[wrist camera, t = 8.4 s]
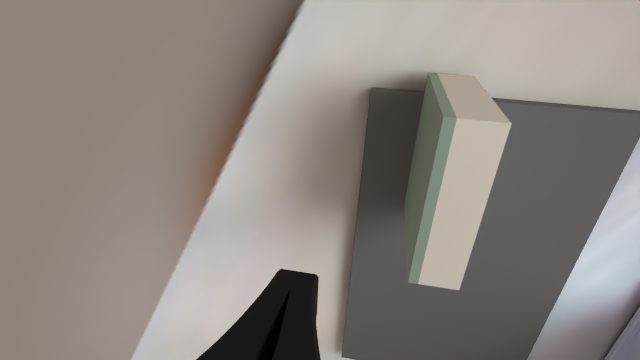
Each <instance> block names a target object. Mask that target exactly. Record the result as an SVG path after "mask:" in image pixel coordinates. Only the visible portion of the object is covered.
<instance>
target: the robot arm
mask: <svg viewBox="0 0 640 360" xmlns="http://www.w3.org/2000/svg"><path fill="white" fill-rule="evenodd" d="M318 278H319V277H318V276H317V275H316V274H310V273H303V272H297V271H291V270H284V269H280V270H279V271H278V272H277V273H276V275H275V276H274V278H273V279H272V280H271V282H270V283H269V284H268V286H267V287H266V288H265V289H264V291H263V292H262V293H261V294H260V296H259V297H258V298H257V299H256V300H255V301H254V303H253V304H252V305H251V306H250V307H249V308H248V310H247V311H246V312H245V313H244V314H243V315H242V316H241V317H240V318H239V319H238V320H237V322H236V323H235V324H234V325H233V326H232V327H231V328H230V329H229V330H228V331H227V332H226V333H225V334H224V335H223V336H222V337H221V338H220V339H219V340H218V341H217V342H215V343H214V344H213V345H212V346H211V347H210V348H209V349H208V350H207V351H206V352H204V353H203V354H202V355H201V356H200V357H199V358H198V359H196V360H320V354H319V347H318V339H317V330H316V315H317V298H318ZM604 360H640V307H639V308H638V310H637V311H636V313H635V314H634V316H633V317H632V319H631V320H630V322H629V323H628V325H627V326H626V328H625V329H624V331H623V332H622V334H621V335H620V337H619V338H618V340H617V341H616V342H615V344H614V345H613V347H612V348H611V350H610V351H609V353H608V354H607V356H606V357H605V359H604Z"/></svg>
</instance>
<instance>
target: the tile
mask: <svg viewBox="0 0 640 360" xmlns="http://www.w3.org/2000/svg"><path fill="white" fill-rule="evenodd" d="M511 124H512V123H511V122H510V121H509V119H508V118H507V117H506V116H505V114H504V113H503V112H502V110H501V109H500V108H499V107H498V105H497V104H496V103H495V102H494V100H493V99H492V98H491V97H490V95H489V94H488V93H487V91H486V90H485V89H484V88H483V86H482V85H481V84H480V83H479V81H478V80H477V79H476V78H475V76H466V75H453V74H440V73H428V76H427V82H426V87H425V93H424V98H423V104H422V109H421V115H420V120H419V126H418V131H417V137H416V142H415V148H414V153H413V159H412V164H411V170H410V175H409V181H408V186H407V192H406V197H405V226H406V249H407V273H408V283H415V284H421V285H428V286H434V287H441V288H447V289H454V290H459V289H460V286H461V283H462V280H463V277H464V274H465V270H466V267H467V264H468V261H469V258H470V254H471V251H472V248H473V245H474V242H475V239H476V235H477V232H478V229H479V226H480V223H481V219H482V216H483V213H484V210H485V207H486V204H487V200H488V197H489V194H490V191H491V188H492V184H493V181H494V178H495V175H496V172H497V169H498V165H499V162H500V159H501V156H502V153H503V150H504V146H505V143H506V140H507V137H508V134H509V130H510V127H511Z"/></svg>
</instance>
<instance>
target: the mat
mask: <svg viewBox="0 0 640 360" xmlns="http://www.w3.org/2000/svg"><path fill="white" fill-rule="evenodd" d="M424 93H425V92H417V91H406V90H394V89H383V88H371V93H370V102H369V111H368V120H367V129H366V138H365V147H364V157H363V166H362V175H361V184H360V193H359V202H358V212H357V221H356V230H355V239H354V248H353V257H352V266H351V276H350V285H349V294H348V303H347V312H346V321H345V331H344V340H343V349H342V357H344V358H350V359H355V360H527V358H528V356H529V354H530V352H531V350H532V348H533V346H534V344H535V342H536V340H537V338H538V336H539V334H540V332H541V330H542V328H543V326H544V324H545V322H546V320H547V318H548V316H549V315H550V313H551V311H552V309H553V307H554V305H555V303H556V301H557V299H558V297H559V295H560V293H561V291H562V289H563V287H564V285H565V283H566V281H567V279H568V277H569V275H570V273H571V271H572V269H573V267H574V265H575V263H576V261H577V260H578V258H579V256H580V254H581V252H582V250H583V248H584V246H585V244H586V242H587V240H588V238H589V236H590V234H591V232H592V230H593V228H594V226H595V224H596V222H597V220H598V218H599V216H600V214H601V212H602V210H603V208H604V206H605V205H606V203H607V201H608V199H609V197H610V195H611V193H612V191H613V189H614V187H615V185H616V183H617V181H618V179H619V177H620V175H621V173H622V171H623V169H624V167H625V165H626V163H627V161H628V159H629V157H630V155H631V153H632V151H633V150H634V148H635V146H636V144H637V142H638V140H639V138H640V111H636V110H625V109H613V108H602V107H590V106H579V105H567V104H555V103H544V102H532V101H521V100H509V99H498V98H492V99H493V100H494V102H495V103H496V104H497V105H498V107H499V108H500V109H501V110H502V112H503V113H504V114H505V116H506V117H507V118H508V119H509V121H510V122H511V123H512V124H511V127H510V130H509V134H508V137H507V140H506V143H505V146H504V150H503V153H502V156H501V159H500V162H499V165H498V169H497V172H496V175H495V178H494V181H493V184H492V188H491V191H490V194H489V197H488V200H487V204H486V207H485V210H484V213H483V216H482V219H481V223H480V226H479V229H478V232H477V235H476V239H475V242H474V245H473V248H472V251H471V254H470V258H469V261H468V264H467V267H466V270H465V274H464V277H463V280H462V283H461V286H460V289H459V290H454V289H447V288H441V287H434V286H428V285H421V284H415V283H408V273H407V249H406V226H405V197H406V192H407V186H408V181H409V175H410V170H411V164H412V159H413V153H414V148H415V142H416V137H417V131H418V126H419V120H420V115H421V109H422V104H423V98H424Z"/></svg>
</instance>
